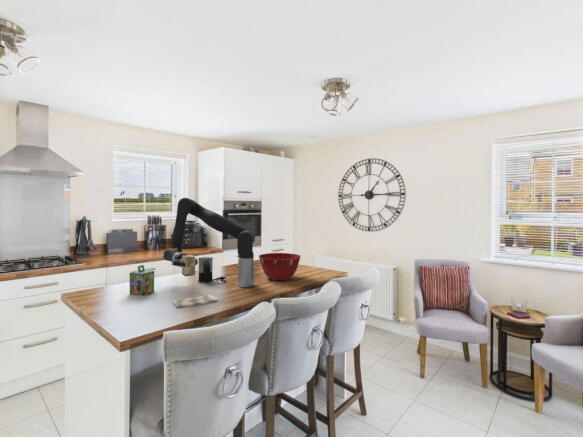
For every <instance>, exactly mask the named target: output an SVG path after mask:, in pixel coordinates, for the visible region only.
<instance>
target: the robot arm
mask: <svg viewBox="0 0 583 437" xmlns="http://www.w3.org/2000/svg"><path fill="white" fill-rule="evenodd" d="M188 215H192V216H194V217H196V218H197V219H200V220H201V221H202V222H203V223H205V225H207V226H209V227H210V228H211V229H214V230H215V231H217V232H220V233H222V234H226V235H229V236H231V237H233V238H235V239H236V240H237V242H236V243H237V244H236V245H237V246H236V247H237V255H238V256H237V263H238V264H237V287H240V288H250V287H253V286H255V280H256V279H255V277H256V276H255V273H256V272H255V269H254V263H255V262H254V257H255V254H254V251H253V249H254V248H253V247H254V246H253V245H254V242H255V241H256V236H255V234H254V233H253V232H252V231H251V230H248V229H245V228H243V227H241V226H239V225H237V224H236V223H234V222H232V221H231V220H229V219H227V218H226V217H225V216H223V215H220V214H219V213H217V212H215V211H213V210H211V209H208V208H206V207H204V206H202V205H201V204H199V203H198V202H197V201H195V200H194V199H192V198H189V197H182V198H180V199H179V201H178V202H177V208H176V216H175V223H174V228H173V230H172V235H171V238H170V242H169V243H170V245H171V246H174V247H176V249H175V248H174V249H173V248H167V249H165V250H164V252H163V258H164V260H165V261H168V262H171V265H172V266H175V267H178V268H182V266H183V267H185V262H183V261H182V256H183V255H188V254H187V253H184V252H183V242H184V239H185V236H186V225H187V224H186V223H187V219H188V217H189V216H188ZM197 265H199V259H198V257H195V267H196V266H197Z"/></svg>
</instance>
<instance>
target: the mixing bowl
mask: <svg viewBox="0 0 583 437" xmlns="http://www.w3.org/2000/svg"><path fill="white" fill-rule="evenodd" d="M301 257H302V256H301V255H300V254H295V253H288V252H287V253H286V252H270V253H269V252H268V253H263V254H259V255H258V258H259V262H260V265H261V268H262V271H263V272H264V274H265V276H266V277H267V278H268V279H269V280H271V279H272V281H278V280H281V281H287V280H286V279H288V280H289V279H291V278H292V277H293V276H294V275H295V273H296V272H297V269H298V266H299V263H300V259H301Z"/></svg>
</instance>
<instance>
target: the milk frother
mask: <svg viewBox="0 0 583 437" xmlns="http://www.w3.org/2000/svg"><path fill="white" fill-rule="evenodd" d="M197 259H198V279H197V282H198V283H200V284H201V283H206V284H207V283H212V282H213V281H222V282H223V281H224V280H225V279H227V277H226V276H220V277H217V278H213V264H214V263H213V260H214V258H213V257H208V256H205V257H197Z"/></svg>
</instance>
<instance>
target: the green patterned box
mask: <svg viewBox="0 0 583 437" xmlns="http://www.w3.org/2000/svg"><path fill="white" fill-rule="evenodd" d="M144 266H145V265H144V264H141V265H138V266H137V269H138V270H135V271H132V272H129V294H130V295H136V296H137V295H140V296H145V295H148V294H150V293H153V292H155V271H154V270H149V269H145V267H144Z"/></svg>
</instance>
